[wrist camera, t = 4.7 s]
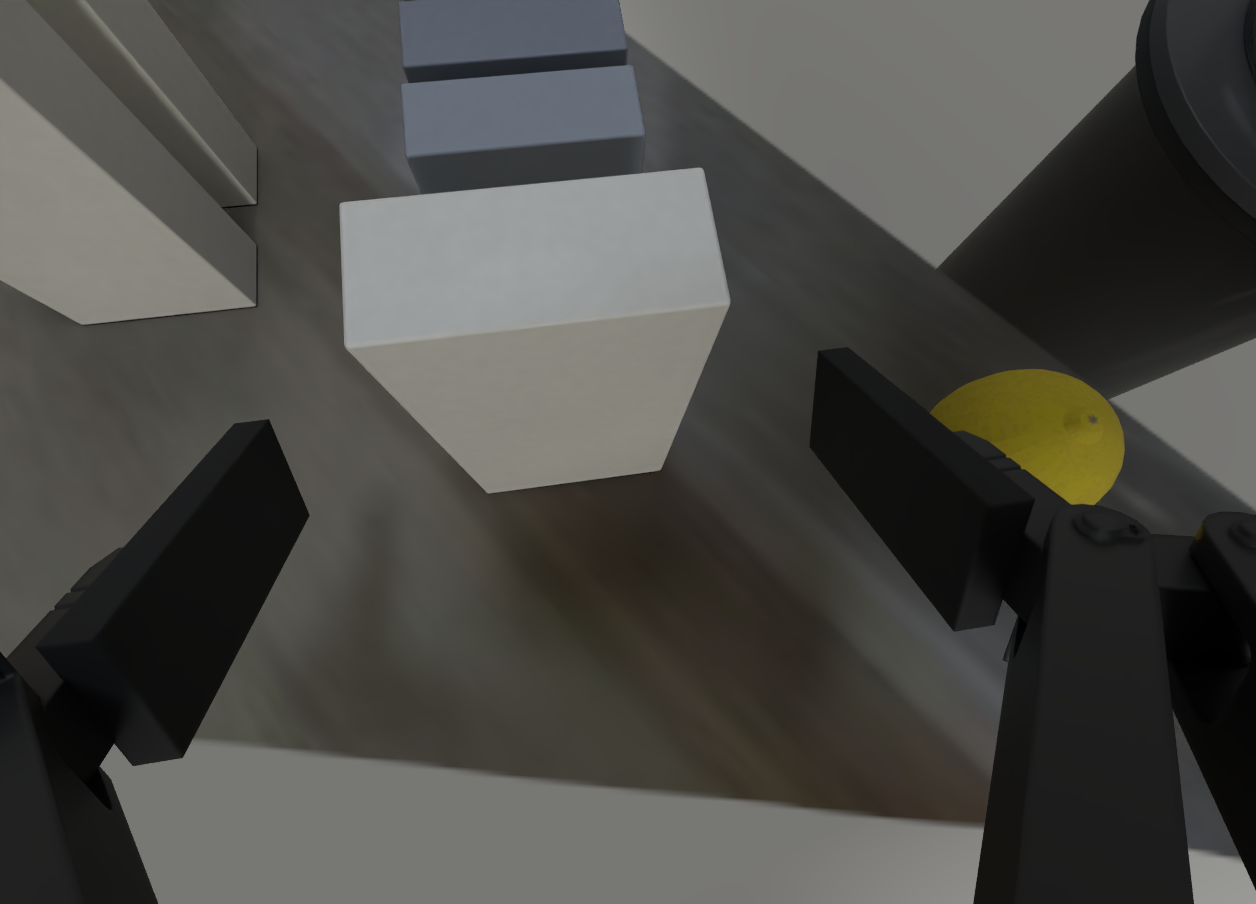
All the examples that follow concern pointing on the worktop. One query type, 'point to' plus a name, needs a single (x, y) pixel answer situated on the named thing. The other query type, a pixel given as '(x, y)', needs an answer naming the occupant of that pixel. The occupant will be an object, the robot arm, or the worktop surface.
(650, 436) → the cream tall block
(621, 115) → the grey books
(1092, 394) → the lemon
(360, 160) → the worktop surface
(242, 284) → the cream book row
